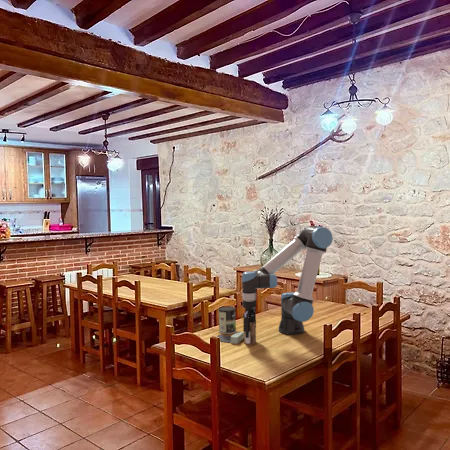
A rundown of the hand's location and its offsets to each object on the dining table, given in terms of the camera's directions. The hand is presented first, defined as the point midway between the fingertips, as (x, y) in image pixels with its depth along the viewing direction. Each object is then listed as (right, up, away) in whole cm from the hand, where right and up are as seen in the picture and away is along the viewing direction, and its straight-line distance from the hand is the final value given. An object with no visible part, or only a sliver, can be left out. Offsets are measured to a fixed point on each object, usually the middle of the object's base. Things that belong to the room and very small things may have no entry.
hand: (250, 341), depth 240 cm
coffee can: (-12, 0, +21) cm, 25 cm away
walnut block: (0, -1, 0) cm, 1 cm away
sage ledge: (-7, -1, +4) cm, 8 cm away
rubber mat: (-14, -1, +7) cm, 16 cm away
